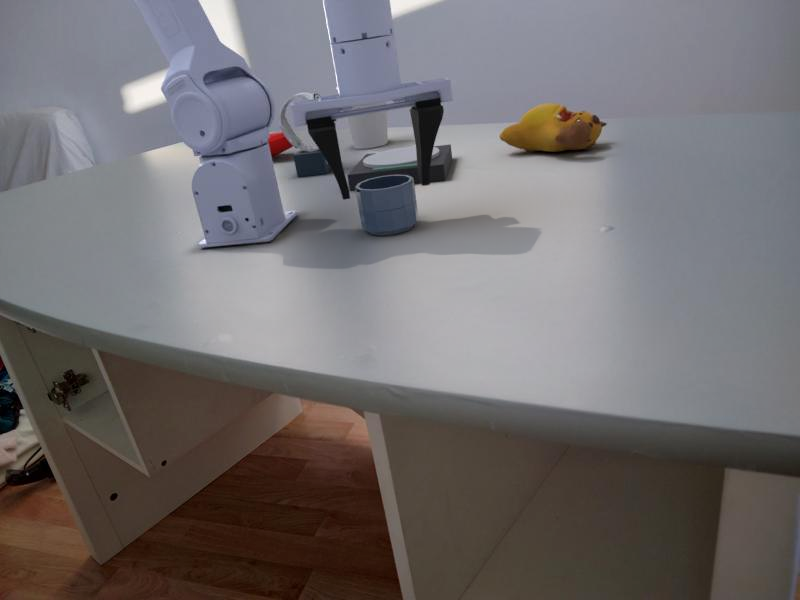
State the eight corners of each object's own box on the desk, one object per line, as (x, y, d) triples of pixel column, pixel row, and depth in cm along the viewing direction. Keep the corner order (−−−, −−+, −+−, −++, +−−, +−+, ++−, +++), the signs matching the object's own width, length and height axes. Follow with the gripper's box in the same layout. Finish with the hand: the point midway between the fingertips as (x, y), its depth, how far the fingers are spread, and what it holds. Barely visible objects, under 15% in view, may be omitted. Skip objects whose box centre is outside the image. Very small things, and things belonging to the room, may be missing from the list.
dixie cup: (367, 139, 113) (358, 80, 109) (405, 139, 108) (397, 77, 104) (336, 150, 107) (325, 88, 103) (374, 150, 102) (364, 85, 98)
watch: (339, 172, 91) (325, 92, 87) (286, 178, 93) (269, 99, 88) (348, 163, 96) (334, 87, 92) (297, 169, 98) (281, 94, 93)
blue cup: (415, 234, 60) (408, 186, 59) (358, 239, 62) (350, 192, 60) (421, 216, 65) (415, 172, 64) (369, 221, 66) (361, 178, 65)
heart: (241, 167, 114) (228, 174, 105) (232, 144, 113) (218, 148, 104) (304, 146, 114) (297, 151, 104) (296, 123, 112) (287, 125, 103)
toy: (553, 110, 92) (638, 112, 79) (544, 156, 93) (627, 164, 81) (493, 96, 86) (574, 95, 74) (484, 145, 87) (563, 152, 75)
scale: (445, 180, 78) (443, 160, 77) (349, 190, 80) (346, 170, 79) (452, 158, 89) (450, 140, 88) (368, 168, 91) (365, 150, 90)
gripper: (434, 26, 61) (450, 169, 66) (281, 50, 60) (310, 193, 65) (449, 26, 54) (465, 183, 60) (278, 53, 53) (311, 210, 59)
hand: (385, 190), depth 62 cm, fingers open, 7 cm apart
